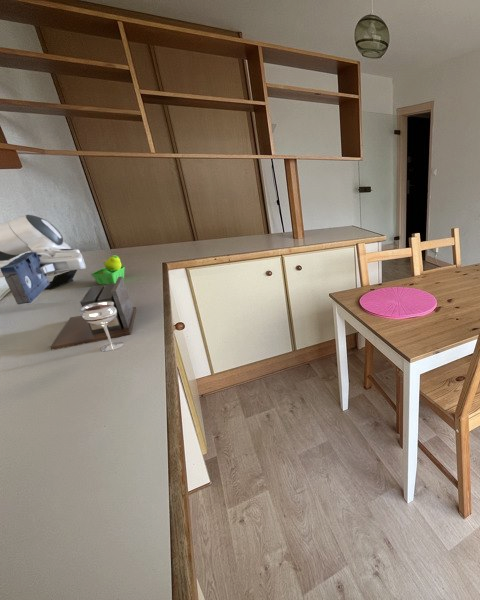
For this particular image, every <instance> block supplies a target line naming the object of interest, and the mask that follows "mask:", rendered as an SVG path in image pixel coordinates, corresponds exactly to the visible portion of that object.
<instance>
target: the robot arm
mask: <svg viewBox="0 0 480 600" xmlns="http://www.w3.org/2000/svg"><path fill="white" fill-rule="evenodd" d="M29 252H37V254H38V256H39V258H40V261H39V263H40V264H41V265H42V267H37V268H36V271H38V272H37V273H38V274H45V273H46V275H47V277H50V276H51V277H52V276H56V275H59V274H62V273H65V272H68V271H71V270H77V271H81V270H85V269H86V268H87V265H86V263H85V260H84V256H83V254H82V253H81V250H80V249H78V248H72V247H71V246H70V245H69V244H68V243H66V242H65V241H64V237H63V235H62V233H61V232H60V231H59V230H58V228H57V227H56V226H55V225H54V224H53V223H51V222H50V221H49V220H47V219H45V218H42V217H40V216H37V215H33V214H26V215H25V214H24V215H22V216H18V217H16V218H12V219H10V220H8V221H5V222H2V223H0V268H2V267H3V266H5V265H8V264H9V263H10V262H12V261H13V260H14V258H17V257H19V255H23V254H25V253H29ZM0 278H5V277H4V276H3V274H2V272H1V269H0Z"/></svg>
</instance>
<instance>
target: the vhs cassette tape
mask: <svg viewBox="0 0 480 600" xmlns="http://www.w3.org/2000/svg"><path fill="white" fill-rule="evenodd" d="M28 252H29V251H28ZM12 260H13V261H12V262H10V263H9V264H8V265H5V266H3V267H2V268H0V269H1V272H2V274H3V276H4V277H3V278H4V280H5V281H6V284H7V286H8V288H9V290H10V292H11V294H12V297H13V298H14V300H15V302H16V305H25V304H31V303H32V302H34V300H35V299H37V298H38V297H39V295H40V294H41V293H42V292H43V291H44V290H46V289H45V288H46V287H47V286H48V285H49V284H50V282H51V281H50V280H49V276H47V275H46V273H45V274H38V273H37V272H38V271H36V268H37V267H42V265H41V264H40V263H39V261H40V258H39V256H38V254H37V252H29V253H27V252H25V253H22V254H20V256H17V257H15V259H12Z"/></svg>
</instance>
